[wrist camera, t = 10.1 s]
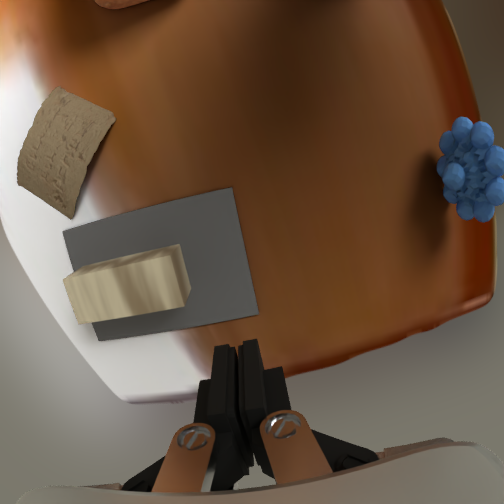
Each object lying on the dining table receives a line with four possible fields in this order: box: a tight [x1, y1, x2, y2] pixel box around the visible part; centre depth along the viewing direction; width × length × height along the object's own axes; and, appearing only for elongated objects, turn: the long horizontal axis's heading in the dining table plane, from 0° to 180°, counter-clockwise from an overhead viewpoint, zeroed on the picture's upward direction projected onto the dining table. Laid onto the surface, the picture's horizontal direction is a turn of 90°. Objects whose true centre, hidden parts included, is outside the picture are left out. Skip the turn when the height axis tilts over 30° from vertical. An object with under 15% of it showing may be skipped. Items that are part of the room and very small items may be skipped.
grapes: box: [437, 117, 504, 222], centre depth 27 cm, size 12×7×12 cm, turn 18°
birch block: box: [63, 244, 191, 324], centre depth 31 cm, size 5×5×12 cm
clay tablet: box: [17, 86, 116, 219], centre depth 29 cm, size 14×10×3 cm
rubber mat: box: [63, 187, 259, 341], centre depth 33 cm, size 20×14×1 cm
